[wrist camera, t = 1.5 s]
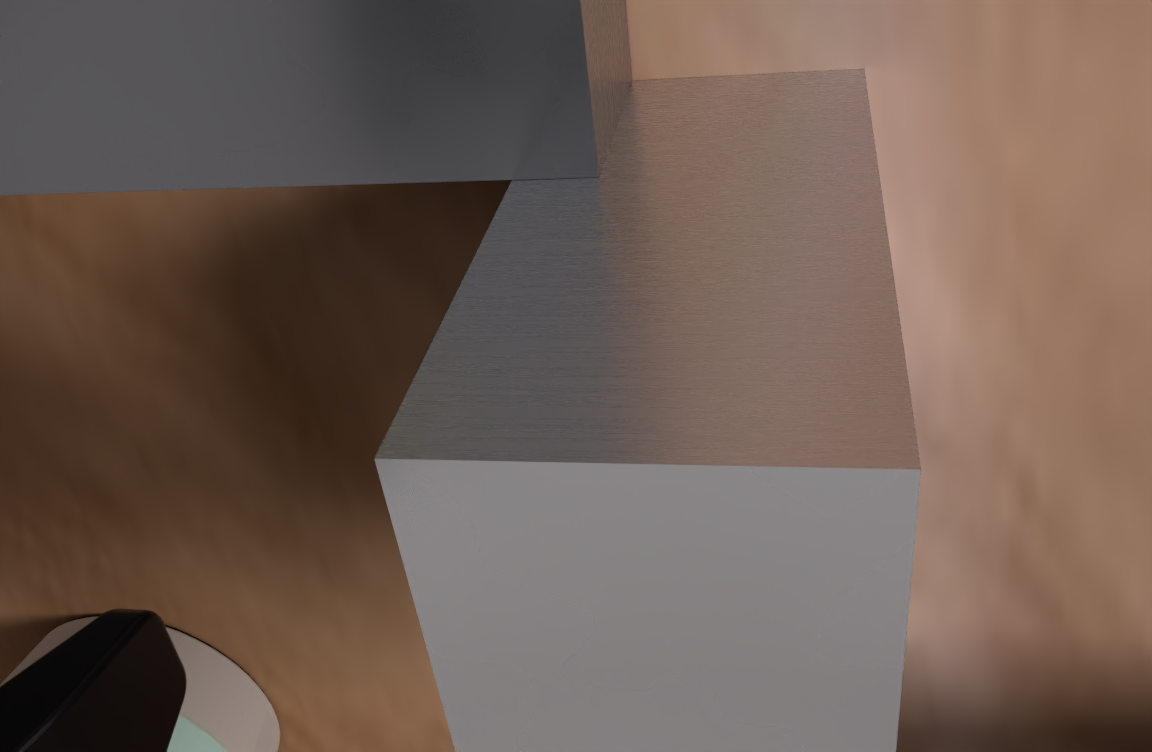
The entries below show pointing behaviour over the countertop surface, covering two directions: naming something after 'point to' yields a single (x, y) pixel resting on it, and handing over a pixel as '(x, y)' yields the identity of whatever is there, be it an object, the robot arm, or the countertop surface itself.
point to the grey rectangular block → (672, 441)
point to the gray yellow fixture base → (305, 92)
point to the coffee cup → (201, 697)
